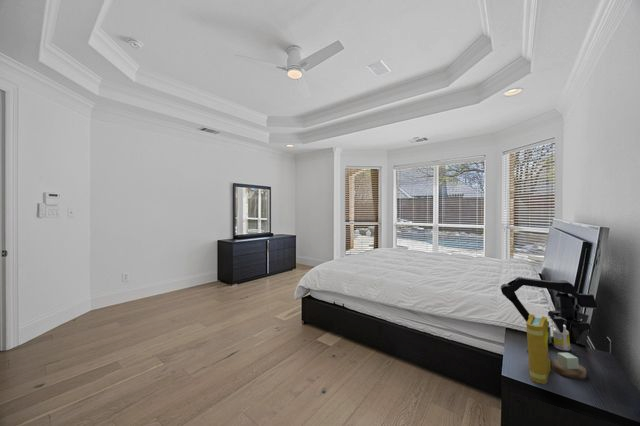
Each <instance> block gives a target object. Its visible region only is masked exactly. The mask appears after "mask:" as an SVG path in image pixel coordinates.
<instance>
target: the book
mask: <svg viewBox="0 0 640 426" xmlns="http://www.w3.org/2000/svg"><path fill="white" fill-rule="evenodd" d="M528 318H529V319H528V321H527V322H526V338H527V340H526V341H527V350H528V351H527V352H528V353H527V354H528V366H529V367H528V368H529V379H530V378H531V379H532V380H533V382H534V381H535V382H534V383H537V384H540V383H541V384H540V385H545V384H547V383H548V382H547V381H548V377H549V374H550V373H551V371H552V370H551V369H552V365H551V359H550V358H549V344H548V329H547V328H548V323H547V321H548V317H547V316H541V317H535V314H530V313H529V316H528ZM531 379H530V380H531ZM532 380H531V381H532ZM544 383H545V384H544Z"/></svg>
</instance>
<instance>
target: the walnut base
mask: <svg viewBox="0 0 640 426" xmlns="http://www.w3.org/2000/svg"><path fill="white" fill-rule="evenodd" d="M550 364H551V369H552V370H553V371H555V373H558V375H559V374H560V375H562V376H564V377H566V378H570V377H571V379H574V380H575V379H576V380H577V379H578V380H584V379H586V378H587V370H586V368H585V367H584V366H582V365H581V364H579V363H578V365H579V369H567V368H565V367H564V366H562V365H560V364H559V363H558V358H557V359H552V360H550Z"/></svg>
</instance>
